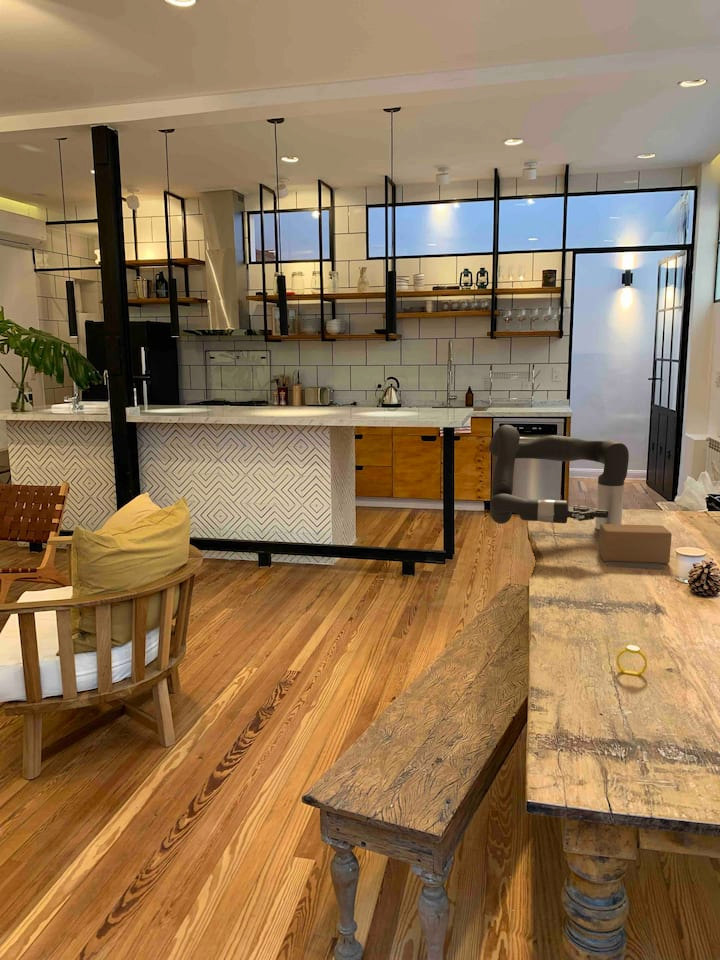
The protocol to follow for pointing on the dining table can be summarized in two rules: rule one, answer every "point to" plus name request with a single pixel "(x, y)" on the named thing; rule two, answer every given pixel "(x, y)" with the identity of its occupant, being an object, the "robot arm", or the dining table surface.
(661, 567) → the charcoal mat
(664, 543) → the wooden block
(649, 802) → the dining table surface
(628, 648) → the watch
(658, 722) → the dining table surface
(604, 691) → the dining table surface
